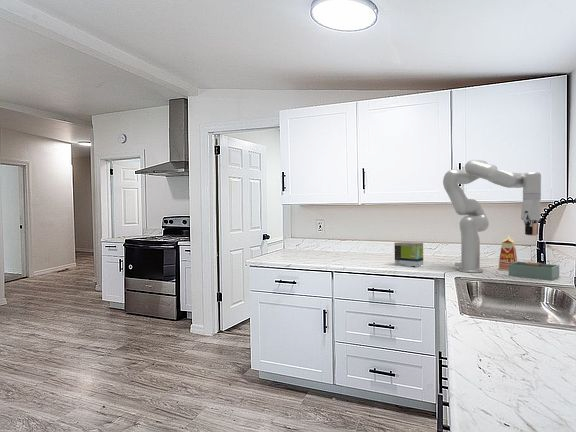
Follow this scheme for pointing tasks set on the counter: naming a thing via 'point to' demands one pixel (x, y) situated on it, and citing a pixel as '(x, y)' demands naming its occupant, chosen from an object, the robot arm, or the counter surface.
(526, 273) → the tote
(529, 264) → the walnut block
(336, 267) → the counter surface
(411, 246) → the tea box
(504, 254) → the milk carton
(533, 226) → the terracotta jar
